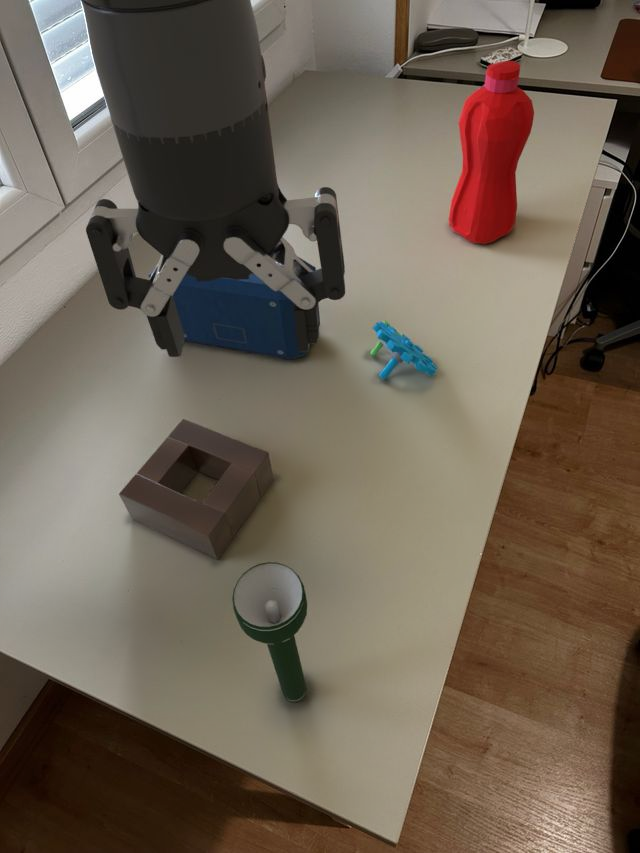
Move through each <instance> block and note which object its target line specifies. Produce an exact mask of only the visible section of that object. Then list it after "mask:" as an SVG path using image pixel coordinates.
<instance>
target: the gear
mask: <svg viewBox="0 0 640 853" xmlns="http://www.w3.org/2000/svg"><path fill="white" fill-rule="evenodd" d="M372 330H374V332H376V334H375V335H376V337H377V338H378V340H379V341H378V342H377V344H376V345H375V346H374V347H373V349H372V350H371V351H370V352H369V354H370V355H371V356H372V357H375V356H377V354H378V353H379V351H381V349H382V348H383V346H384V348H385V349H386V350H387V351H388V353H389V354H390V356H391V357H392V358H391V359H390V360H389V362H388V363H387V364H386V365H385V366H384V368H383V369H382V370H381V372H380V373H379V374H378V377H380V379H381V380H384V381H386V380H387V378H388V377H389V376H390V374H391V373H392V372H393V371H394V369H395V368H396V367H397V366H398V364H402V363H403V362H404V363H406V365H409V364H410V363H413V364H414V368H415V369H416V370H417V371H419V373H422V374H424V373H425V374H426V375H427V376H430V377H433V376H434V375H435V374H436V373H437V370H439V367H438V366H437V365H436V364H434V360H433V359H432V357H430V356H429V355H427V354H425V353H424V350H423V349H422V348H421V347H420V346H419V345H417V344H414V343H413V341H411V339H410V338H409V337H408V336H406V335H405V334H404V333H402V334H401V333H400V332H398V330H397V329H396V328H395V327H393V326H392V325H391V324H390V322H388V321H387V320H383V321H381V320H378V322H376V323H375V324H374V325H373V327H372Z"/></svg>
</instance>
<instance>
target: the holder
mask: <svg viewBox="0 0 640 853" xmlns="http://www.w3.org/2000/svg"><path fill="white" fill-rule="evenodd" d="M198 472H199V473H201V474H204V475H206V476H208V477H211V478H213V479H215V480H218V481H217V482H216V484H214V486H213V487H212V489H210V491H209V492H208V494H207V496H205V498H204V499H203V500H202V501H201V502H200V501H198V500H196V499H193V498H191V497H189V496H187V495H185V494H182V492H183V491H184V489H185V488H186V487H187V486H188V484H189V483H190V482H191V481H192V479H193V478H194V477H195V476H196V475H197V473H198ZM274 480H275V476H274V472H273V467H272V461H271V458H270V452H269V451H266V450H264V449H261V448H258V447H256V446H253V445H250V444H248V443H245V442H243V441H240V440H238V439H235V438H234V437H231V436H228V435H225V434H223V433H220V432H218V431H215V430H213V429H211V428H208V427H204V426H203V425H200V424H198V423H196V422H193V421H190V420H187V419H186V418H185V419H184V418H182V420H180V422H179V423H178V424H177V425H176V426H175V427H174V428H173V430H172V431H171V432H170V434H168V436H167V437H166V438H165V439H164V440H163V442H161V444H160V445H159V446H158V448H157V449H155V451H154V452H153V453H152V455H151V456H150V457H149V458H148V459H147V460H146V461H145V463H144V464H143V465H142V466H141V467H140V469H138V471H137V472H136V473H135V475H134V476H133V477H131V479H130V480H129V481H128V483H127V484H126V485H125V486H124V487H123V488H122V490H120V492H119V493H118V495H119V498H120V499H121V501H122V503H123V506H124V507H125V508H126V510H127V512H128V514H129V517H130V518H131V519H132V520H134V521H135V522H138V523H140V524H141V525H144V526H146V527H148V528H150V529H152V530H154V531H156V532H158V533H160V534H162V535H164V536H166V537H169V538H171V539H173V540H175V541H177V542H179V543H181V544H183V545H185V546H187V547H190V548H191V549H194V550H195V551H198V552H200V553H202V554H205V555H206V556H209V557H210V558H212V559H215V560H217V561H219V559H220V557H221V556H222V555H223V553H224V552H225V551H226V550H227V547H228V546H229V545H230V543H231V542H232V540H234V539H233V538H234V537H235V536H236V534H237V533H238V532H239V530H240V528H242V526H243V524H244V523H245V522H246V521H247V518H248V517H249V516H250V514H252V511H253V510H254V508H255V507H256V506H257V504H258V503H259V501H260V500H261V499H262V497H263V496H264V495H265V493H266V491H267V490H268V489H269V487H270V486H271V484H272V482H274Z"/></svg>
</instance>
